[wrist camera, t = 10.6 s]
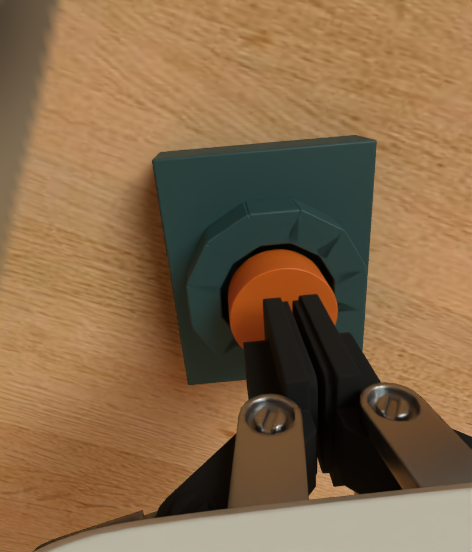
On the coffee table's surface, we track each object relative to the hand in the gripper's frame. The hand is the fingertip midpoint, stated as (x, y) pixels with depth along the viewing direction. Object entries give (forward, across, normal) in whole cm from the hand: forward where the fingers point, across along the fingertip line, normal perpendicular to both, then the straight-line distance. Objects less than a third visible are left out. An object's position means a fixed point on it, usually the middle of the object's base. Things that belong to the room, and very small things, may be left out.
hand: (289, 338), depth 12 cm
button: (+3, 0, 0) cm, 3 cm away
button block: (+6, 0, 0) cm, 6 cm away
